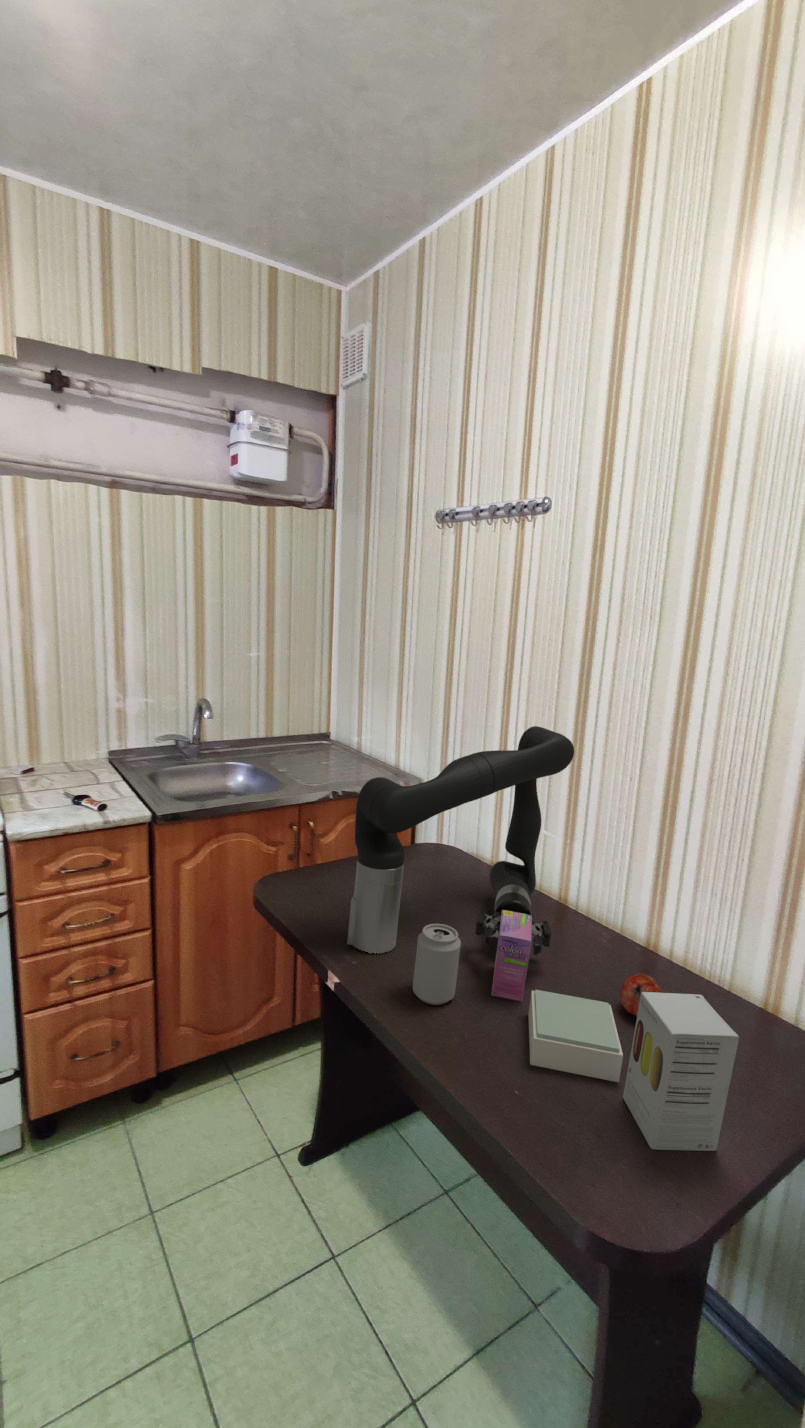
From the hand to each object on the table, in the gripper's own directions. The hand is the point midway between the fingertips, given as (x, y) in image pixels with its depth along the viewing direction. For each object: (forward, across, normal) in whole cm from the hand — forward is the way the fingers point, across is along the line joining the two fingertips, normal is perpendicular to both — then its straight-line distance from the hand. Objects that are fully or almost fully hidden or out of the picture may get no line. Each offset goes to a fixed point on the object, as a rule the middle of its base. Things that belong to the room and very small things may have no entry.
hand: (512, 946), depth 119 cm
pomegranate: (+3, +23, +7) cm, 24 cm away
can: (+9, -13, +7) cm, 17 cm away
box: (+1, 0, +7) cm, 7 cm away
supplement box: (+29, +22, +7) cm, 37 cm away
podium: (+16, +10, +7) cm, 20 cm away
